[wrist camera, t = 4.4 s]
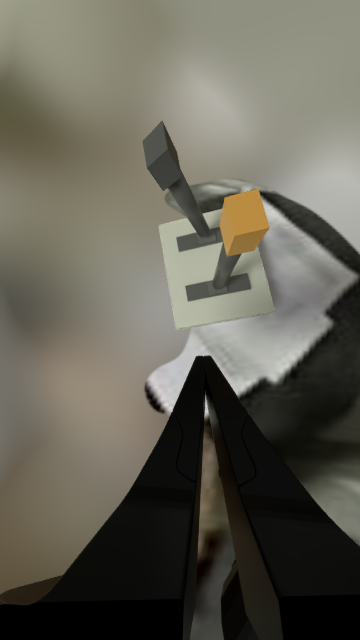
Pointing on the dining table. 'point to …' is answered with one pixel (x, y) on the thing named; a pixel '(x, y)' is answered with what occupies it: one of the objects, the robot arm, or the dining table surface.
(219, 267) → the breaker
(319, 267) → the dining table surface
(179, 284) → the breaker panel
